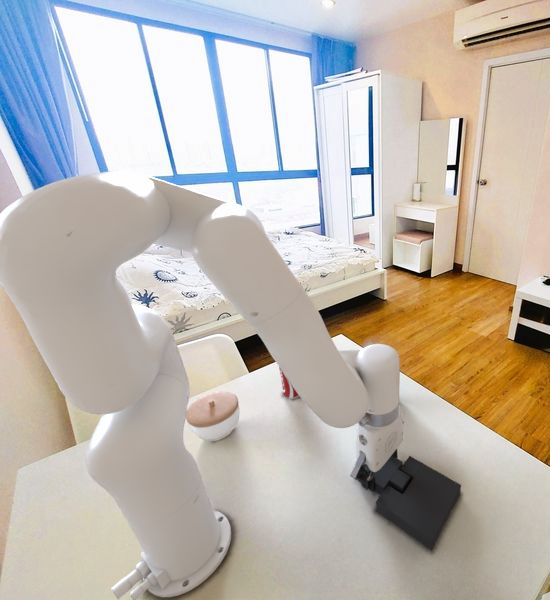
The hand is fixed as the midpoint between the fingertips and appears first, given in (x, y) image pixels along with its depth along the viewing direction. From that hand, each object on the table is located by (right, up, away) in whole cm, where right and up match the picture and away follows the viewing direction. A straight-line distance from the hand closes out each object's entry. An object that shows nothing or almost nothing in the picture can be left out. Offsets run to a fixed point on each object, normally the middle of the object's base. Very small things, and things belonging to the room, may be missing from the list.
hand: (379, 472), depth 67 cm
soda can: (-26, +10, +23) cm, 36 cm away
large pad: (+8, -4, -4) cm, 10 cm away
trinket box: (-40, +4, +11) cm, 41 cm away
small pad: (+1, -1, 0) cm, 2 cm away
